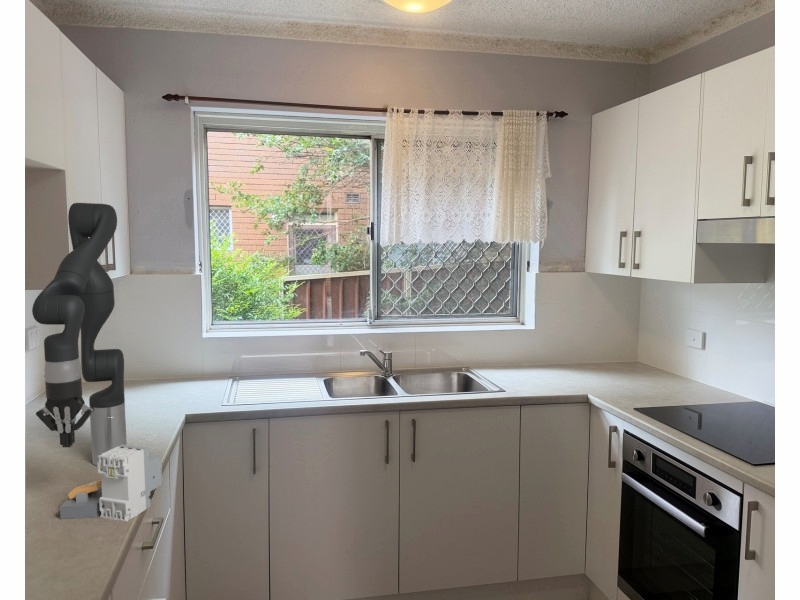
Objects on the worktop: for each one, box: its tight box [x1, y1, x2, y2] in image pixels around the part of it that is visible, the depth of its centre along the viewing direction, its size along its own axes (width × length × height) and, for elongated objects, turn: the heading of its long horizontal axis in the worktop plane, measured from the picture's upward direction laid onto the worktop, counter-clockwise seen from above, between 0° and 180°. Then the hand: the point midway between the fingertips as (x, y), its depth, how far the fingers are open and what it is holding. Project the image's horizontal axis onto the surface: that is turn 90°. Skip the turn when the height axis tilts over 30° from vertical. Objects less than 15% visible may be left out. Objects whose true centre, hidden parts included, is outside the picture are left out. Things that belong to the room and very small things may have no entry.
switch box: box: [59, 486, 104, 520], centre depth 139 cm, size 10×8×5 cm
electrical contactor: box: [96, 444, 163, 523], centre depth 140 cm, size 8×14×15 cm, turn 164°
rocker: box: [67, 478, 102, 499], centre depth 139 cm, size 4×7×2 cm, turn 97°
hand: (67, 446), depth 139 cm, fingers closed
